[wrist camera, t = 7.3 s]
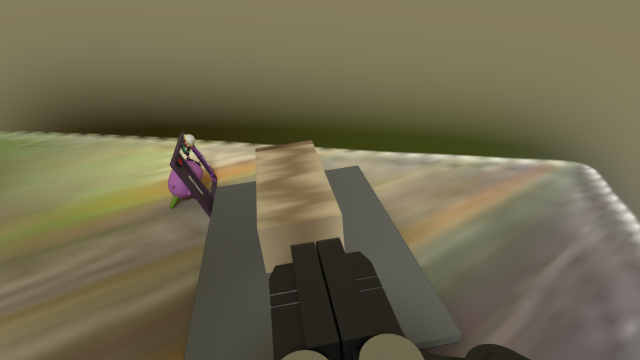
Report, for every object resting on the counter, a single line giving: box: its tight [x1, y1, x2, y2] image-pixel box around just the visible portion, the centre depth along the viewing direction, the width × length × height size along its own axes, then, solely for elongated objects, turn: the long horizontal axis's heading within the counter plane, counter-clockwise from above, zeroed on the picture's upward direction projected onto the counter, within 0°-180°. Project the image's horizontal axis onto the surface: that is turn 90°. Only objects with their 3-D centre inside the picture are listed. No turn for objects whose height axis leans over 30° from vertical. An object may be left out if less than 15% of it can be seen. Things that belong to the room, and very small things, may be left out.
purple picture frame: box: [168, 132, 217, 218], centre depth 38 cm, size 7×5×9 cm
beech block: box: [256, 140, 345, 273], centre depth 33 cm, size 6×4×15 cm
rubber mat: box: [184, 166, 462, 360], centre depth 31 cm, size 16×24×1 cm
